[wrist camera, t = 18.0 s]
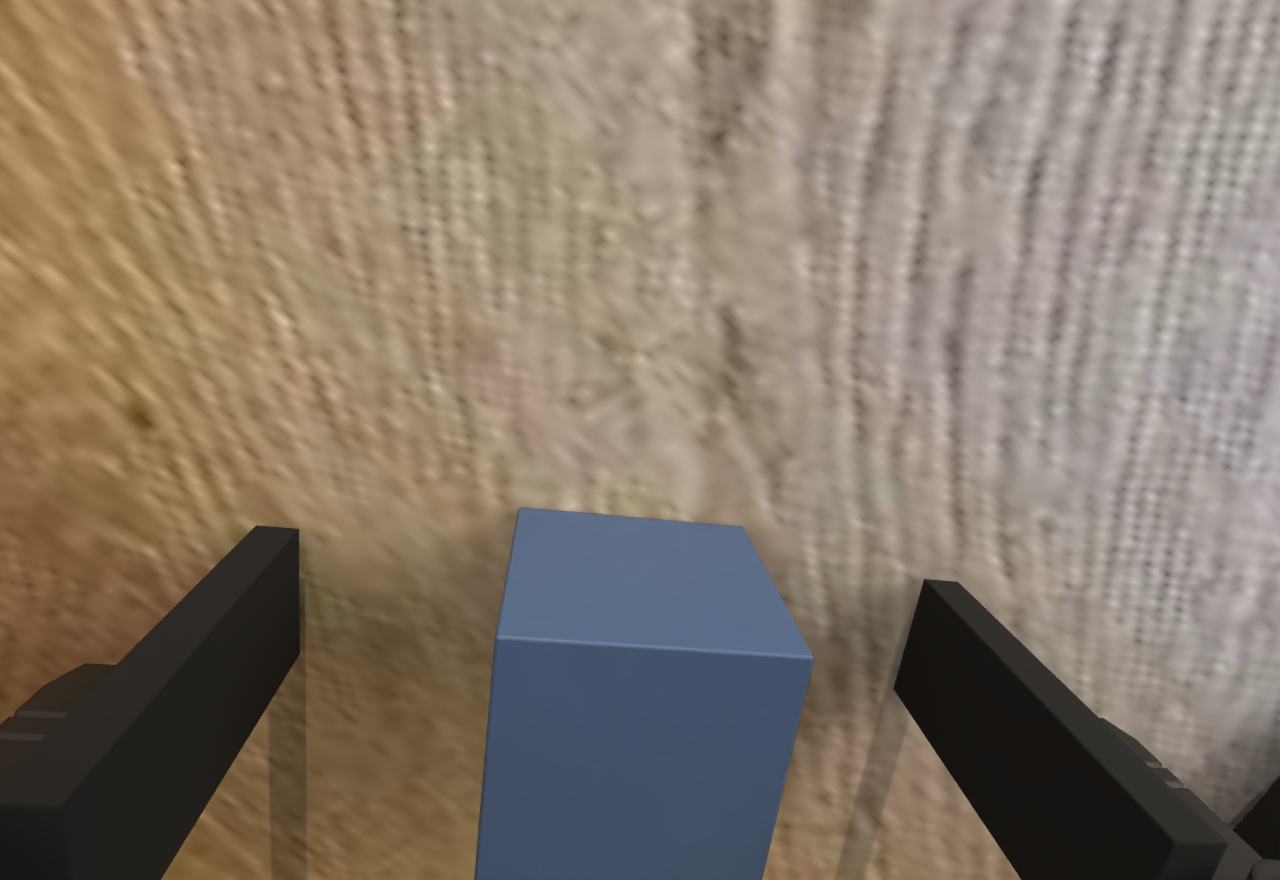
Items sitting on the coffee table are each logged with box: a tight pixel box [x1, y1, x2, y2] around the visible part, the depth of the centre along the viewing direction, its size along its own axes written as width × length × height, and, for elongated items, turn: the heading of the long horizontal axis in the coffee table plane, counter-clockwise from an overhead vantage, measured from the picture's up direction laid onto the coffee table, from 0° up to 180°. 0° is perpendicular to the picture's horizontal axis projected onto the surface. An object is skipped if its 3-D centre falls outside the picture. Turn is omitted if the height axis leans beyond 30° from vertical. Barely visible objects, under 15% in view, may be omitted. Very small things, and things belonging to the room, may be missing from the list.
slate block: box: [474, 508, 814, 880], centre depth 13 cm, size 4×4×4 cm
